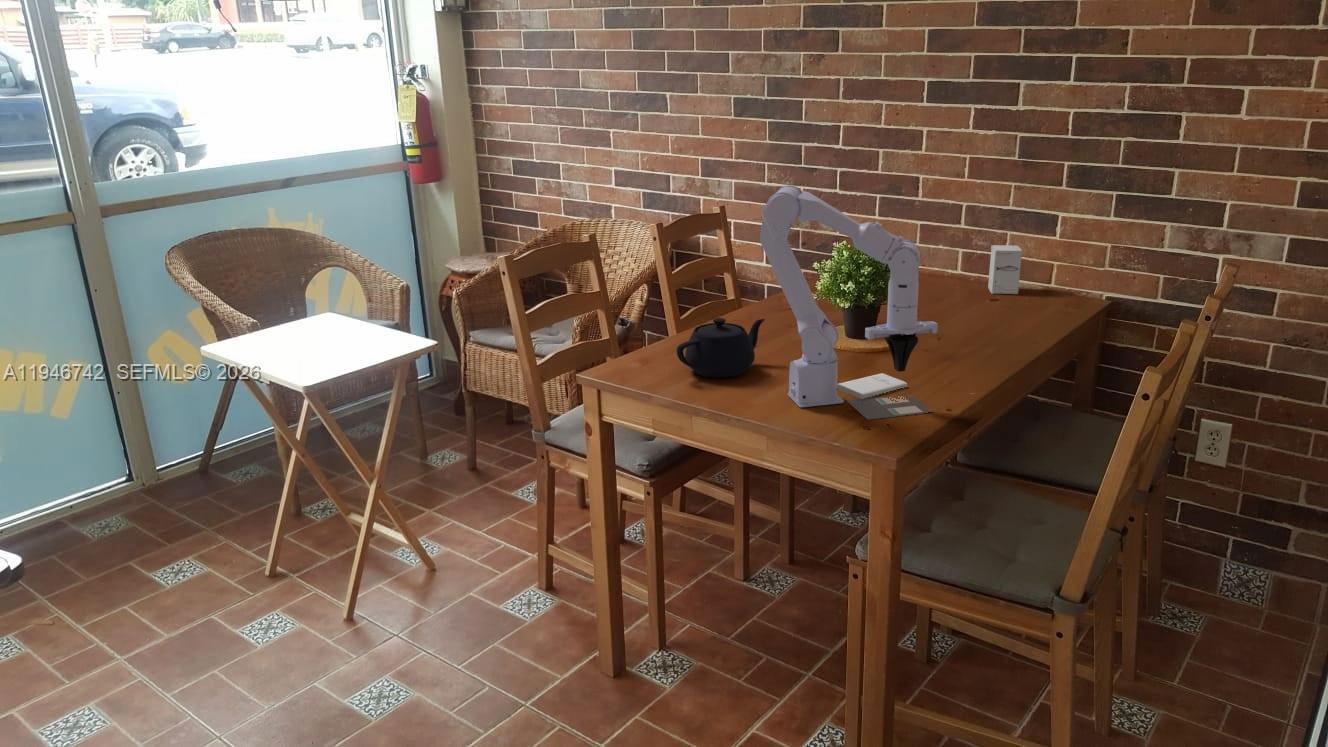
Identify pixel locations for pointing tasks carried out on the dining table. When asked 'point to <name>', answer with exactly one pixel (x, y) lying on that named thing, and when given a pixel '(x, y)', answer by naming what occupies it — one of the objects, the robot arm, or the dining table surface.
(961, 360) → the dining table surface
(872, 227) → the robot arm
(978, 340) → the dining table surface
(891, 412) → the bay plate
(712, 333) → the teapot
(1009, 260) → the supplement box
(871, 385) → the external hard drive
